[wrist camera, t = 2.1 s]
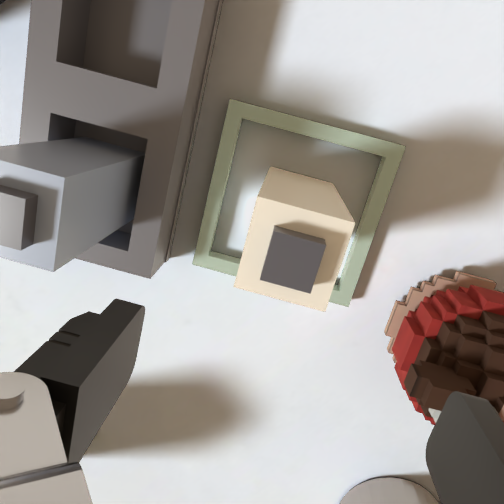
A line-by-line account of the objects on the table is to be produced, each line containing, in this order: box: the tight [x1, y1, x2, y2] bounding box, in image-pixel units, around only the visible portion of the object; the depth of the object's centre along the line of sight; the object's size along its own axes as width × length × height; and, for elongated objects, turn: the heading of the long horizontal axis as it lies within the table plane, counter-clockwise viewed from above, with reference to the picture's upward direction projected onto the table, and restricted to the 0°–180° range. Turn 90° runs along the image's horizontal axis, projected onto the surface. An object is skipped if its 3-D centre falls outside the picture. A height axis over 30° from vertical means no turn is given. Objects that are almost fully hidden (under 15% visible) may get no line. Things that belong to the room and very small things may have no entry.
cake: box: [384, 271, 504, 425], centre depth 25 cm, size 11×9×18 cm
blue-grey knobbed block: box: [0, 137, 145, 272], centre depth 26 cm, size 5×5×13 cm
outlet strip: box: [19, 0, 223, 279], centre depth 29 cm, size 10×21×4 cm, turn 166°
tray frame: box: [192, 99, 406, 307], centre depth 32 cm, size 12×12×1 cm
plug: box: [234, 166, 355, 312], centre depth 26 cm, size 5×5×13 cm
